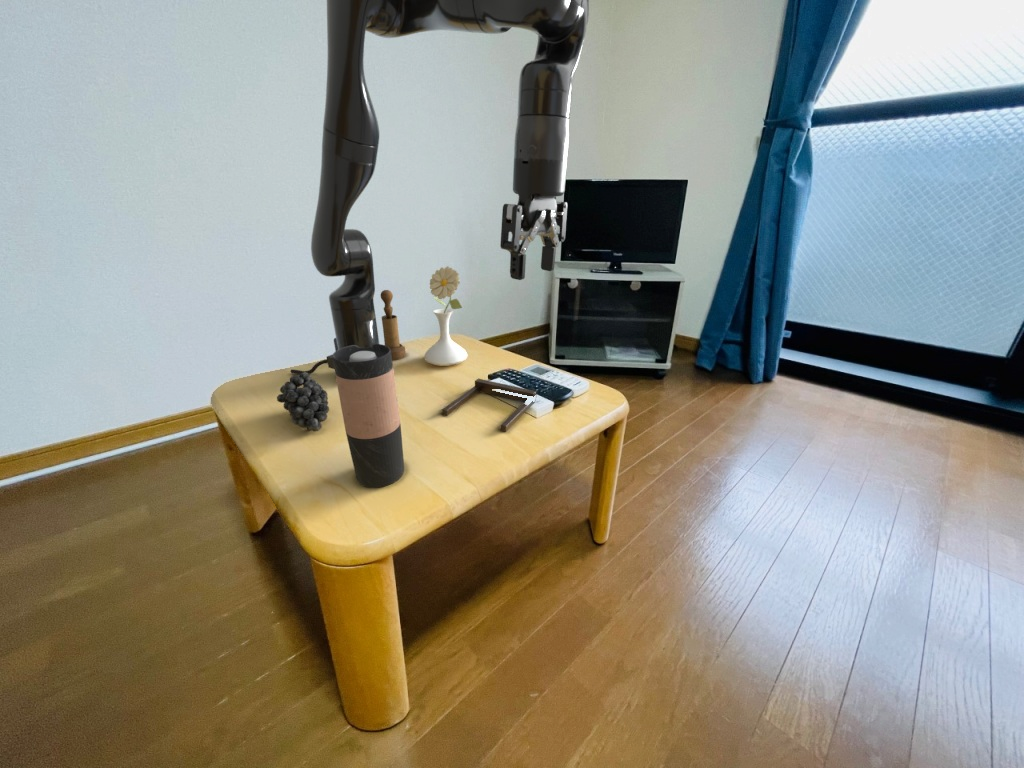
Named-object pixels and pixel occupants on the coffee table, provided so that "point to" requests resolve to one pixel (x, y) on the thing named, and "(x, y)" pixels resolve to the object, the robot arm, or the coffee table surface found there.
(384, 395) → the travel mug
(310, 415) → the fruit
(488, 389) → the walnut stand
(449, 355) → the flower in vase
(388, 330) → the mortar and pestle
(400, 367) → the coffee table surface
